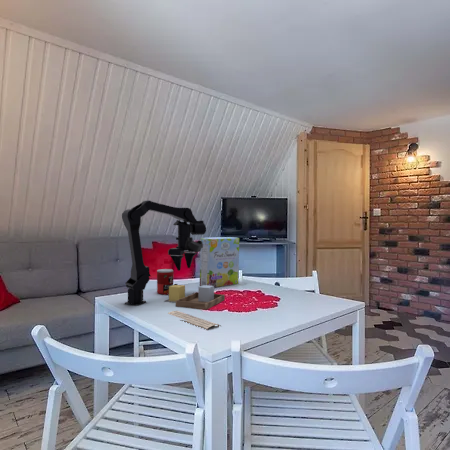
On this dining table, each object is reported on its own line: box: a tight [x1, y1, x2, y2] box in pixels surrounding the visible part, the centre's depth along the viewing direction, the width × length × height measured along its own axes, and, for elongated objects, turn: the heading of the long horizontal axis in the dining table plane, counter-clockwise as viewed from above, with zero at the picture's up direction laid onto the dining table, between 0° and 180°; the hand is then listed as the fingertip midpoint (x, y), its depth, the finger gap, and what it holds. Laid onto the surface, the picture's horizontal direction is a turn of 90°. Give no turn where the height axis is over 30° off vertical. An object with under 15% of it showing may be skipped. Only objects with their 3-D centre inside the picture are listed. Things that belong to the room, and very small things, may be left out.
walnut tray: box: [175, 291, 226, 311], centre depth 147 cm, size 18×14×3 cm
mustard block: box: [168, 284, 186, 301], centre depth 151 cm, size 5×5×6 cm
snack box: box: [199, 236, 240, 288], centre depth 189 cm, size 22×9×26 cm, turn 132°
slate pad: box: [163, 298, 176, 304], centre depth 151 cm, size 8×8×1 cm
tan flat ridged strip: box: [167, 310, 222, 330], centre depth 124 cm, size 24×7×2 cm, turn 43°
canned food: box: [156, 268, 174, 295], centre depth 169 cm, size 8×8×11 cm
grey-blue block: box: [197, 285, 215, 302], centre depth 151 cm, size 5×5×6 cm
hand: (184, 269), depth 161 cm, fingers open, 9 cm apart
